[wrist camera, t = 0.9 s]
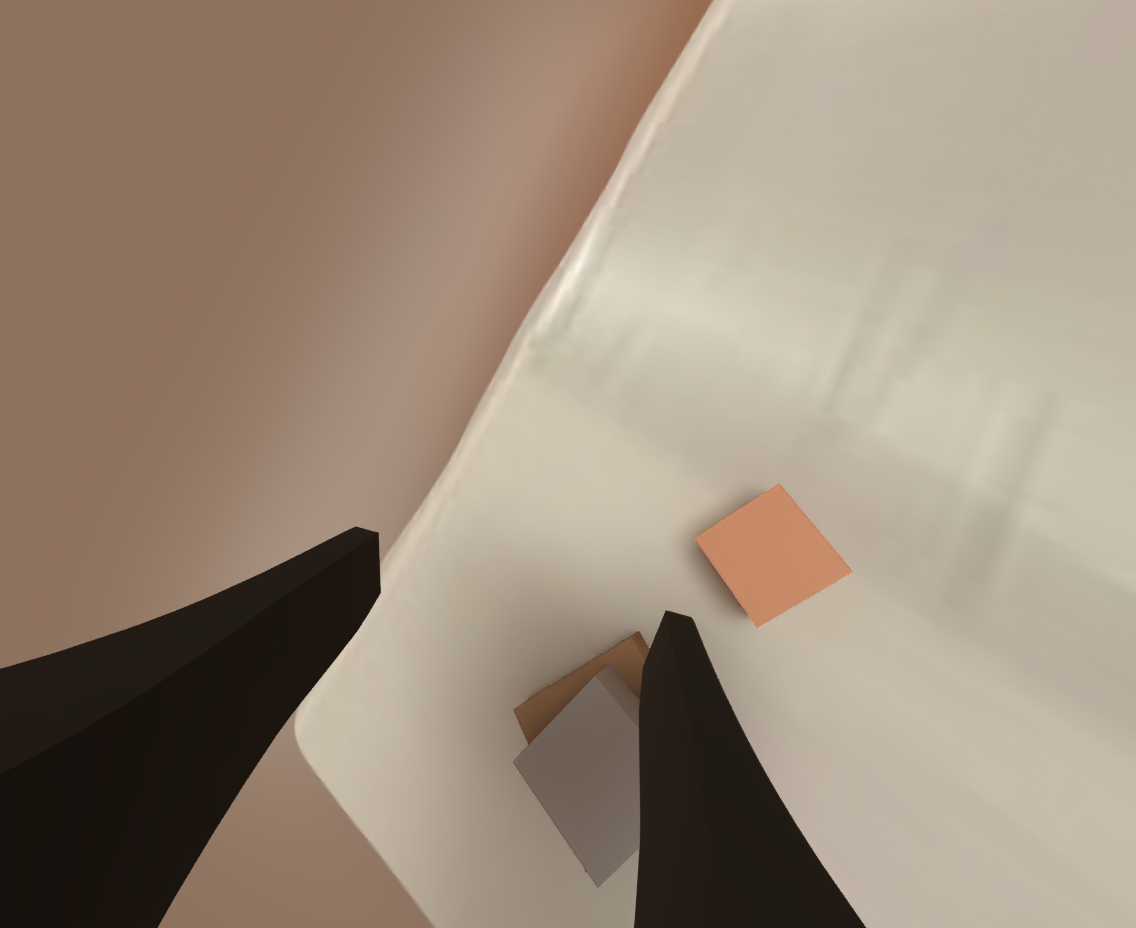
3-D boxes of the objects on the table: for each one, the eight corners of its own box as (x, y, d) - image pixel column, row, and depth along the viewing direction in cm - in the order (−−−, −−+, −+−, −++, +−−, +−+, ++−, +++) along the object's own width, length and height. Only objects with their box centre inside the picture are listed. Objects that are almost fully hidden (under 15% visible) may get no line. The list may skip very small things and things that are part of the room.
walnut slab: (727, 776, 22) (726, 801, 20) (600, 842, 24) (585, 872, 21) (640, 629, 25) (631, 637, 23) (532, 696, 26) (513, 709, 24)
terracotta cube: (831, 569, 22) (853, 571, 18) (753, 615, 23) (757, 627, 19) (771, 496, 24) (779, 483, 19) (701, 541, 24) (694, 538, 20)
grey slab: (698, 768, 20) (693, 795, 18) (612, 851, 21) (597, 887, 19) (609, 663, 23) (595, 675, 20) (534, 741, 23) (512, 761, 21)
